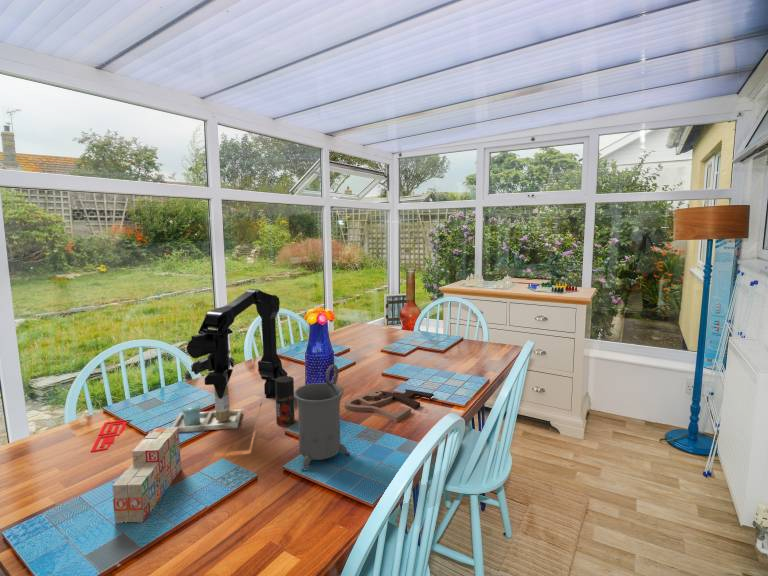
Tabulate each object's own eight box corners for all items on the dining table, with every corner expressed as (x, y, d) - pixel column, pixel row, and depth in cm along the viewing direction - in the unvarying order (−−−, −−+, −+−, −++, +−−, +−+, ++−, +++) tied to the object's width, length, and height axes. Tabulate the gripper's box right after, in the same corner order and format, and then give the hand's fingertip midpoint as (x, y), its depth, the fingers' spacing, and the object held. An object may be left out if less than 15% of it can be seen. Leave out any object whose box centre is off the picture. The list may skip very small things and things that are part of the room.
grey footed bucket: (326, 478, 112) (325, 386, 108) (280, 465, 118) (277, 378, 114) (359, 445, 129) (359, 365, 125) (318, 435, 135) (316, 358, 131)
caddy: (241, 415, 148) (241, 409, 148) (237, 430, 137) (237, 423, 137) (180, 420, 144) (179, 413, 144) (170, 435, 134) (169, 428, 133)
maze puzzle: (104, 424, 142) (104, 422, 142) (171, 414, 150) (171, 412, 150) (90, 453, 124) (90, 451, 124) (168, 440, 132) (167, 438, 131)
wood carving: (434, 399, 165) (383, 385, 178) (434, 393, 164) (383, 380, 178) (393, 426, 142) (339, 408, 156) (393, 420, 142) (339, 403, 155)
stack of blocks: (144, 523, 95) (140, 471, 93) (114, 524, 94) (109, 472, 92) (181, 469, 116) (179, 426, 114) (157, 470, 115) (154, 426, 113)
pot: (203, 419, 143) (202, 403, 142) (199, 426, 138) (198, 410, 137) (185, 420, 142) (184, 404, 141) (181, 428, 137) (180, 411, 136)
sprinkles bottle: (226, 414, 145) (224, 376, 143) (232, 418, 142) (230, 379, 140) (213, 418, 141) (210, 380, 139) (219, 423, 138) (217, 383, 136)
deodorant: (297, 419, 145) (296, 377, 143) (288, 427, 140) (287, 383, 138) (282, 417, 147) (281, 375, 145) (272, 424, 142) (271, 381, 140)
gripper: (199, 342, 146) (202, 386, 148) (185, 359, 127) (188, 409, 130) (233, 341, 148) (235, 384, 150) (224, 357, 130) (226, 406, 132)
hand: (221, 395), depth 140 cm, fingers closed on sprinkles bottle, 4 cm apart
